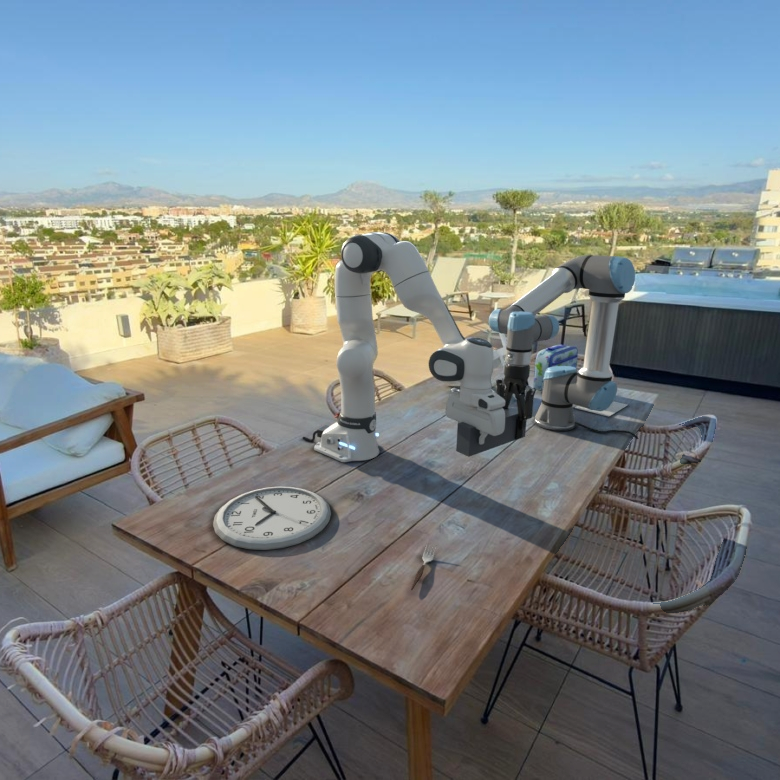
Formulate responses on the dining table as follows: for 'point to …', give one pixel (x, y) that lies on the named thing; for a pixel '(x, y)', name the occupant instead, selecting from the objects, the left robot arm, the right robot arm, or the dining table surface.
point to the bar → (470, 434)
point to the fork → (426, 559)
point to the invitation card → (609, 411)
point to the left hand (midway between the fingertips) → (472, 440)
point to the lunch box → (553, 361)
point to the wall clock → (272, 518)
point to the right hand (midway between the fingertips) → (511, 435)
